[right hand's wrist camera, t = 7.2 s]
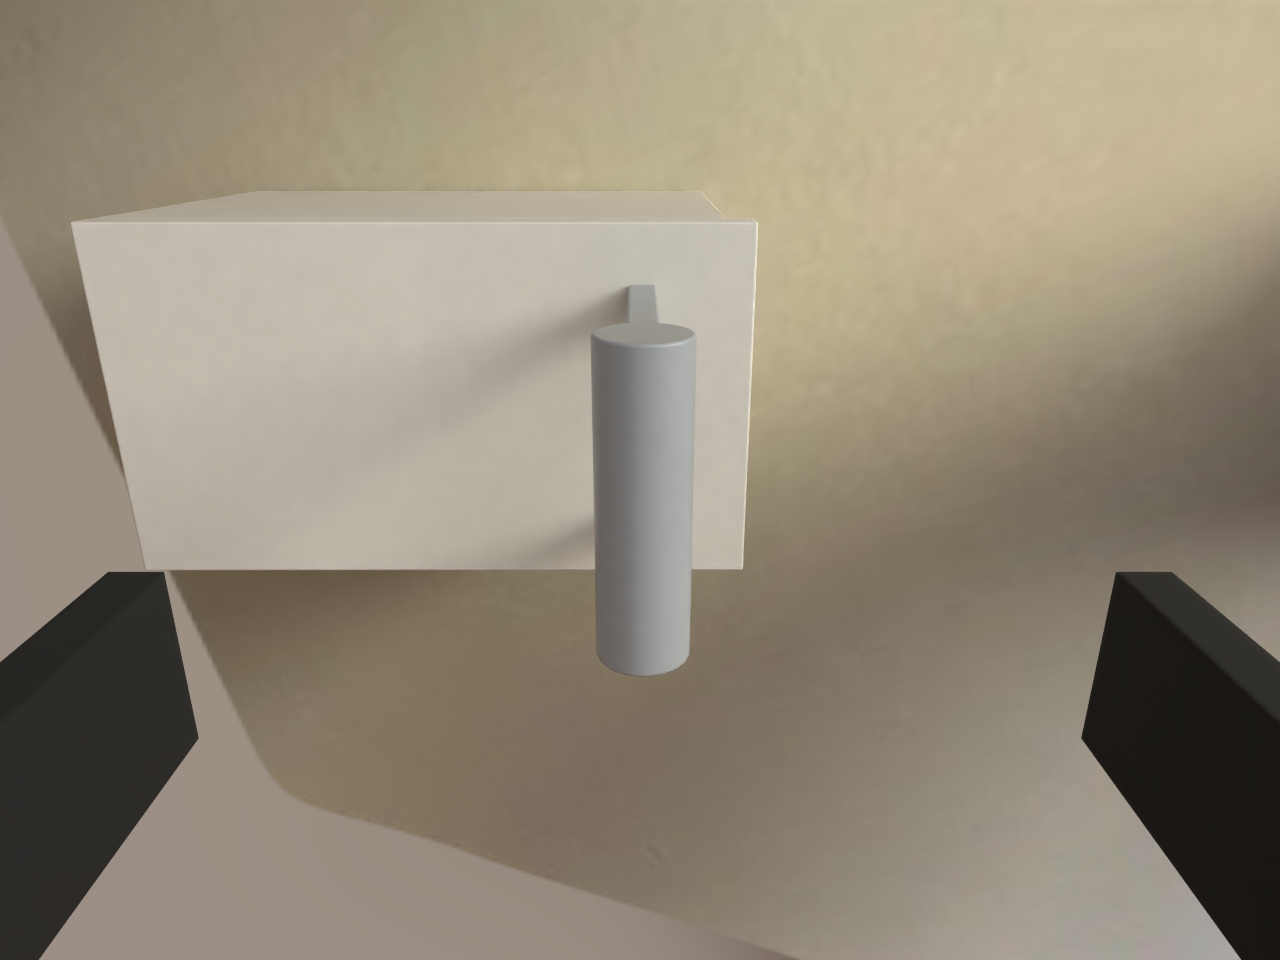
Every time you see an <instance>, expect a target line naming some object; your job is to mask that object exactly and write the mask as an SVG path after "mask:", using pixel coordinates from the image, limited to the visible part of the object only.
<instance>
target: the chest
mask: <svg viewBox="0 0 1280 960" xmlns="http://www.w3.org/2000/svg"><path fill="white" fill-rule="evenodd" d="M99 218H725V216H724V215H723V214H722V213H721V212H720V211H719V210H718V209H717V208H716V207H715V206H714V205H713V204H712V203H711V202H710V201H709V200H708V199H707V198H706V197H705V196H704V195H703V194H702V193H701V192H700V191H254V192H248V193H242V194H236V195H230V196H224V197H218V198H212V199H206V200H200V201H194V202H188V203H182V204H176V205H170V206H164V207H158V208H152V209H147V210H141V211H135V212H129V213H123V214H117V215H111V216H105V217H99Z"/></svg>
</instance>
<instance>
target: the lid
mask: <svg viewBox="0 0 1280 960" xmlns="http://www.w3.org/2000/svg"><path fill="white" fill-rule="evenodd" d="M70 225H71V230H72V235H73V239H74V244H75V248H76V253H77V258H78V262H79V267H80V271H81V276H82V281H83V285H84V290H85V294H86V299H87V304H88V308H89V313H90V317H91V322H92V327H93V331H94V336H95V340H96V345H97V350H98V354H99V359H100V363H101V368H102V373H103V377H104V382H105V386H106V391H107V396H108V400H109V405H110V410H111V414H112V419H113V423H114V428H115V433H116V437H117V442H118V446H119V451H120V456H121V460H122V465H123V469H124V474H125V479H126V483H127V488H128V492H129V497H130V502H131V506H132V511H133V515H134V520H135V525H136V529H137V534H138V538H139V543H140V547H141V552H142V557H143V561H144V566H145V569H146V570H595V592H596V642H597V655H598V657H599V659H600V661H601V662H602V663H603V664H604V665H605V666H606V667H608V668H610V669H611V670H613V671H616V672H618V673H621V674H625V675H630V676H641V677H646V676H657V675H662V674H665V673H668V672H671V671H673V670H675V669H677V668H679V667H680V666H681V665H682V664H684V662H685V661H686V660H687V658H688V656H689V653H690V614H691V570H742V568H743V552H744V530H745V508H746V486H747V463H748V441H749V419H750V397H751V375H752V352H753V330H754V308H755V286H756V264H757V241H758V222H756V221H755V220H754V219H752V218H93V219H87V220H81V221H75V222H71V223H70Z"/></svg>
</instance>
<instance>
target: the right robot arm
mask: <svg viewBox="0 0 1280 960" xmlns="http://www.w3.org/2000/svg"><path fill="white" fill-rule="evenodd" d="M197 740H198V733H197V728H196V723H195V719H194V714H193V709H192V704H191V700H190V695H189V690H188V685H187V680H186V676H185V671H184V666H183V661H182V656H181V652H180V647H179V642H178V637H177V633H176V628H175V623H174V618H173V614H172V609H171V604H170V599H169V594H168V590H167V585H166V580H165V575H164V572H108V573H107V574H105V575H104V576H103V577H102V578H100V579H99V580H98V581H97V582H96V583H95V584H93V585H92V586H91V587H90V588H89V589H87V590H86V591H85V592H84V593H83V594H81V595H80V596H79V597H78V598H77V599H75V600H74V601H73V602H72V603H71V604H69V605H68V606H67V607H66V608H65V609H63V610H62V611H61V612H60V613H59V614H57V615H56V616H55V617H54V618H53V619H52V620H50V621H49V622H48V623H47V624H45V625H44V626H43V627H42V628H41V629H40V630H38V631H37V632H36V633H35V634H34V635H32V636H31V637H30V638H29V639H28V640H26V641H25V642H24V643H23V644H22V645H20V646H19V647H18V648H17V649H16V650H14V651H13V652H12V653H11V654H10V655H8V656H7V657H6V658H5V659H4V660H2V661H1V662H0V960H39V958H40V957H41V956H42V954H43V953H44V952H45V950H46V949H47V947H48V946H49V945H50V943H51V942H52V941H53V939H54V938H55V936H56V935H57V933H58V932H59V931H60V929H61V928H62V927H63V925H64V924H65V923H66V921H67V920H68V918H69V917H70V916H71V914H72V913H73V911H74V910H75V909H76V907H77V906H78V905H79V903H80V902H81V900H82V899H83V898H84V896H85V895H86V893H87V892H88V891H89V889H90V888H91V886H92V885H93V884H94V882H95V881H96V880H97V878H98V877H99V875H100V874H101V873H102V871H103V870H104V868H105V867H106V866H107V864H108V863H109V862H110V860H111V859H112V857H113V856H114V855H115V853H116V852H117V851H118V849H119V848H120V846H121V845H122V844H123V842H124V841H125V839H126V838H127V837H128V835H129V834H130V833H131V831H132V830H133V828H134V827H135V826H136V824H137V823H138V821H139V820H140V819H141V817H142V816H143V815H144V813H145V812H146V810H147V809H148V808H149V806H150V805H151V803H152V802H153V801H154V799H155V798H156V797H157V795H158V794H159V792H160V791H161V790H162V788H163V787H164V785H165V784H166V783H167V781H168V780H169V779H170V777H171V776H172V774H173V773H174V772H175V770H176V769H177V767H178V766H179V765H180V763H181V762H182V761H183V759H184V758H185V756H186V755H187V754H188V752H189V751H190V750H191V748H192V747H193V745H194V744H195V742H196V741H197ZM1082 740H1083V741H1084V743H1085V744H1086V745H1087V747H1088V748H1089V750H1090V751H1091V752H1092V754H1093V755H1094V756H1095V758H1096V759H1097V761H1098V762H1099V763H1100V765H1101V766H1102V768H1103V769H1104V770H1105V772H1106V773H1107V774H1108V776H1109V777H1110V779H1111V780H1112V781H1113V783H1114V784H1115V786H1116V787H1117V788H1118V790H1119V791H1120V792H1121V794H1122V795H1123V797H1124V798H1125V799H1126V801H1127V802H1128V804H1129V805H1130V806H1131V808H1132V809H1133V810H1134V812H1135V813H1136V815H1137V816H1138V817H1139V819H1140V820H1141V822H1142V823H1143V824H1144V826H1145V827H1146V828H1147V830H1148V831H1149V833H1150V834H1151V835H1152V837H1153V838H1154V839H1155V841H1156V842H1157V844H1158V845H1159V846H1160V848H1161V849H1162V851H1163V852H1164V853H1165V855H1166V856H1167V857H1168V859H1169V860H1170V862H1171V863H1172V864H1173V866H1174V867H1175V869H1176V870H1177V871H1178V873H1179V874H1180V875H1181V877H1182V878H1183V880H1184V881H1185V882H1186V884H1187V885H1188V887H1189V888H1190V889H1191V891H1192V892H1193V893H1194V895H1195V896H1196V898H1197V899H1198V900H1199V902H1200V903H1201V905H1202V906H1203V907H1204V909H1205V910H1206V911H1207V913H1208V914H1209V916H1210V917H1211V918H1212V920H1213V921H1214V923H1215V924H1216V925H1217V927H1218V928H1219V929H1220V931H1221V932H1222V934H1223V935H1224V936H1225V938H1226V939H1227V941H1228V942H1229V943H1230V945H1231V946H1232V947H1233V949H1234V950H1235V952H1236V953H1237V954H1238V956H1239V957H1240V959H1241V960H1280V662H1279V661H1278V660H1276V659H1275V658H1274V657H1273V656H1272V655H1270V654H1269V653H1268V652H1267V651H1266V650H1264V649H1263V648H1262V647H1261V646H1260V645H1258V644H1257V643H1256V642H1255V641H1254V640H1252V639H1251V638H1250V637H1249V636H1248V635H1246V634H1245V633H1244V632H1243V631H1242V630H1240V629H1239V628H1238V627H1237V626H1236V625H1235V624H1233V623H1232V622H1231V621H1230V620H1229V619H1227V618H1226V617H1225V616H1224V615H1223V614H1221V613H1220V612H1219V611H1218V610H1217V609H1215V608H1214V607H1213V606H1212V605H1211V604H1209V603H1208V602H1207V601H1206V600H1205V599H1203V598H1202V597H1201V596H1200V595H1199V594H1197V593H1196V592H1195V591H1194V590H1193V589H1191V588H1190V587H1189V586H1188V585H1187V584H1185V583H1184V582H1183V581H1182V580H1181V579H1180V578H1178V577H1177V576H1176V575H1175V574H1174V573H1172V572H1116V575H1115V580H1114V585H1113V590H1112V594H1111V599H1110V604H1109V609H1108V613H1107V618H1106V623H1105V628H1104V633H1103V637H1102V642H1101V647H1100V652H1099V656H1098V661H1097V666H1096V671H1095V676H1094V680H1093V685H1092V690H1091V695H1090V699H1089V704H1088V709H1087V714H1086V719H1085V723H1084V728H1083V733H1082Z"/></svg>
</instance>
